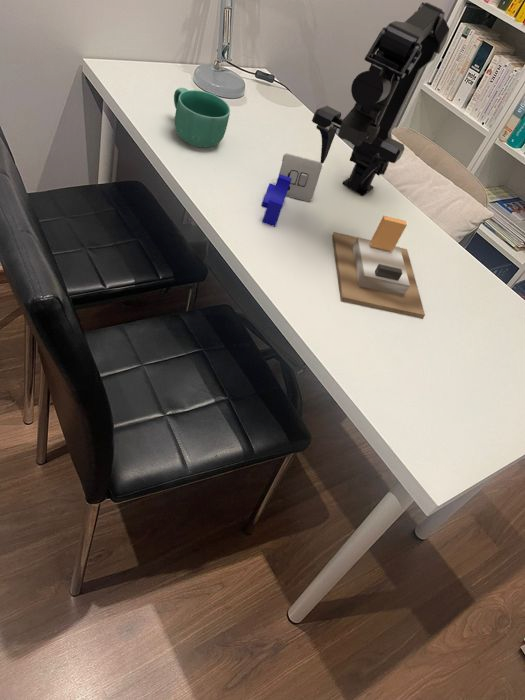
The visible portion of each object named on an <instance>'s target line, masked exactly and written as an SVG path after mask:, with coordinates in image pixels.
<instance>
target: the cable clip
mask: <svg viewBox="0 0 525 700" xmlns="http://www.w3.org/2000/svg"><path fill="white" fill-rule="evenodd" d="M291 180H292V178H289V177H287V176H284V175H281V174H279V173H278V176H277V179H276V183H275V184H273V183H269V184H268V185H267V188H266V191H265V195H264V196H263V200H262V203H261V207H262V208H265V212H264V216H263V218H262V221H261V223H264V224H265V225H268V226H272V227H273V228H275V227H276V226H277V222H278V220H279V216H280V213H281V211H282V208H283V204H284V201H285V200H286V197H287V196H286V194H287V191H288V188H289V185H290V182H291Z"/></svg>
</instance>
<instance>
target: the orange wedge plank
mask: <svg viewBox="0 0 525 700" xmlns="http://www.w3.org/2000/svg"><path fill="white" fill-rule="evenodd" d="M407 226H408V225H407V221H406V220H403V219H399V218H397V217H396V218H395V217H392V216H387V215H383V216H382V217H381V220H380V222H379V223H378V226H377V228H376V230H375V231H374V234H373V236H372V238H371V239H370V240H371V241H370V244H371V246H372V247H376V248H381V249H385V250H389V251H393V249H394V248H395V246H397V244H398V243H399V240H400V239H401V237H402V235H403V232H404V231H405V229H406V227H407Z"/></svg>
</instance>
